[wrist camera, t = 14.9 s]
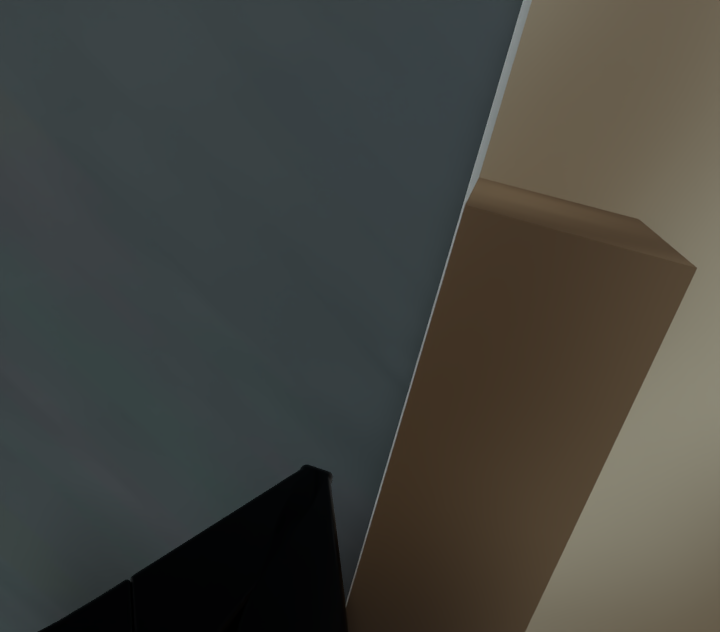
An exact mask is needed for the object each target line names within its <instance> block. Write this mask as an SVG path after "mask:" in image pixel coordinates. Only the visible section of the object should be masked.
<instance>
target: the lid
mask: <svg viewBox="0 0 720 632" xmlns="http://www.w3.org/2000/svg"><path fill="white" fill-rule="evenodd" d="M346 612H347V621H348V629H349V632H720V0H532V2H531V5H530V8H529V12H528V15H527V18H526V22H525V25H524V29H523V32H522V35H521V39H520V42H519V45H518V49H517V52H516V55H515V59H514V62H513V65H512V69H511V72H510V75H509V79H508V82H507V85H506V89H505V92H504V95H503V99H502V102H501V105H500V109H499V112H498V115H497V119H496V122H495V125H494V129H493V132H492V135H491V139H490V142H489V145H488V149H487V152H486V155H485V159H484V162H483V165H482V169H481V172H480V175H479V178H478V180H477V182H476V184H475V186H474V188H473V190H472V192H471V194H470V196H469V198H468V200H467V202H466V204H465V207H464V210H463V213H462V217H461V220H460V224H459V227H458V230H457V234H456V237H455V241H454V244H453V247H452V251H451V254H450V257H449V261H448V264H447V268H446V271H445V274H444V278H443V281H442V285H441V288H440V291H439V295H438V298H437V301H436V305H435V308H434V312H433V315H432V318H431V322H430V325H429V329H428V332H427V335H426V339H425V342H424V345H423V349H422V352H421V356H420V359H419V362H418V366H417V369H416V372H415V376H414V379H413V383H412V386H411V389H410V393H409V396H408V400H407V403H406V406H405V410H404V413H403V416H402V420H401V423H400V427H399V430H398V433H397V437H396V440H395V444H394V447H393V450H392V454H391V457H390V460H389V464H388V467H387V471H386V474H385V477H384V481H383V484H382V488H381V491H380V494H379V498H378V501H377V504H376V508H375V511H374V515H373V518H372V521H371V525H370V528H369V531H368V535H367V538H366V542H365V545H364V548H363V552H362V555H361V559H360V562H359V565H358V569H357V572H356V575H355V579H354V582H353V586H352V589H351V592H350V596H349V599H348V603H347V606H346Z"/></svg>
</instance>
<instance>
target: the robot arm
mask: <svg viewBox="0 0 720 632" xmlns="http://www.w3.org/2000/svg"><path fill="white" fill-rule="evenodd" d="M332 478H333V477H332V474H331V473H330V472H328V471H325V470H322V469H319V468H316V467H313V466H310V465H303V466H302V467H301V469H300V470H299V471H297V472H296V473H294V474H292V475H291V476H289V477H288V478H286V479H285V480H283V481H281V482H280V483H278V484H277V485H275V486H273V487H272V488H270V489H269V490H267V491H266V492H264V493H262V494H261V495H259V496H258V497H256V498H255V499H253V500H251V501H250V502H248V503H247V504H245V505H243V506H242V507H240V508H239V509H237V510H236V511H234V512H232V513H231V514H229V515H228V516H226V517H225V518H223V519H221V520H220V521H218V522H217V523H215V524H213V525H212V526H210V527H209V528H207V529H206V530H204V531H202V532H201V533H199V534H198V535H196V536H195V537H193V538H191V539H190V540H188V541H187V542H185V543H183V544H182V545H180V546H179V547H177V548H176V549H174V550H172V551H171V552H169V553H168V554H166V555H164V556H163V557H161V558H160V559H158V560H157V561H155V562H153V563H152V564H150V565H149V566H147V567H146V568H144V569H142V570H141V571H139V572H138V573H136V574H134V575H133V576H132V577H131V579H130V581H129V580H124V581H123V582H121V583H120V584H118V585H117V586H115V587H113V588H112V589H110V590H109V591H107V592H106V593H104V594H102V595H101V596H99V597H97V598H96V599H94V600H92V601H91V602H89V603H87V604H86V605H84V606H82V607H81V608H79V609H77V610H76V611H74V612H72V613H71V614H69V615H67V616H66V617H64V618H62V619H61V620H59V621H57V622H55V623H53V624H51V625H49V626H48V627H46V628H44V629H42V630H40V631H38V632H349V629H348V621H347V612H346V604H345V596H344V588H343V580H342V572H341V563H340V555H339V547H338V539H337V531H336V523H335V514H334V506H333V498H332V490H331V483H332Z"/></svg>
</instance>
